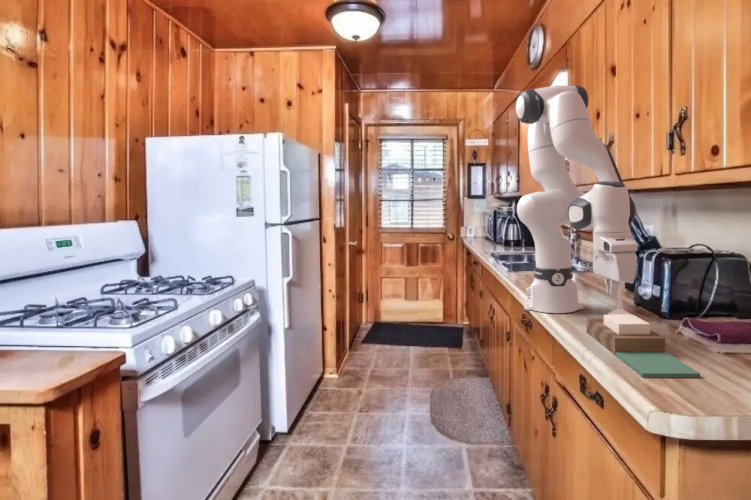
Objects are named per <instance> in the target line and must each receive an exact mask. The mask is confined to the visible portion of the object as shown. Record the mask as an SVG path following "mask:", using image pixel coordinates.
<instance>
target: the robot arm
mask: <svg viewBox="0 0 751 500" xmlns="http://www.w3.org/2000/svg"><path fill="white" fill-rule="evenodd" d="M588 107H589V94H588V91H587V90H586V89H585V87H584V86H580V85H576V84H570V85H551V86H545V87H544V86H543V87H538V88H529V89H526V90H522V91H520V93H519V95H518V96H517V98H516V101H515V113H516V118H517V119H518V120H519V121H520V122H521V123H523V124H528V128H527V154H528V161H529V170H530V175H531V177H532V178H533V179H534V180H535V181H537V182H538V183H539V184H540V185H541V187H542V188H543V190H544V191H535V192H531V193H528V194H525V195H523V196H521V197H520V199H519V200H518V202H517V205H516V214H517V217H518V219H519V221H520V222H521V223H522V224H524V225H525V226H526V228H527V229H528V230H529V231H530V234H531V236H532V239H533V242H534V249H535V250H534V252H535V266H534V270H533V273H534V274H533V277H534V279H533V280H532V283H531V284H530V286H528V287H526V288H525V295H528V296H527V297H526V298H524V301H523V302H524V303H523V304H524V305H523V309H524V310H527V311H534V312H540V313H549V314H568V313H573V312H576V311H580V310H584V306H583V304H580V303H579V291H578V284H577V282H576V281H574V280H573V278H574V268H573V266H572V244H571V242H570V241H569V239H567V238H566V237H564V236H563V234H562V232H561V229H560V225H571V226H572V227H573V228H574V229H575V230H579V231H592V244H593V245H592V249H593V254H592V271H593V274H594V275H595V276H596V275H597V276H600V277H603V278H604V284H605V286H606V293H607V295H609V296H612V297H618V288H619V285H620V283H622V284H624V283H626V284H627V283H633V282H634V281H635V279H636V273H637V271H636V270H637V269H636V267H637V257H636V254H635V252H637V251H638V243H637V242H636V241H635V240H634V239H633V238H632V236H631V228H630V225H631V224H632V223H633V222H634V220H635V219H636V217H637V216H636V215H637V207H636V204H635V202H634V200H633V199H632V197H631V195H630V194H629V190H628V187H627V185H626V184H625V183H624V181H623V179H622V175H621V174H620V171H619V169H618V166H617V164H616V162H615V159H614V157H613V155H612V153H611V151H610V148H608V146H607V145H606V144H605V143H604V142H602V141H601V140H600V139H599V137H598V136H597V134H596V132H595V130H594V128H593V126H592V121H591V118H590V113H589V111H588ZM566 159H567V160H571V161H574V162H577V163H579V164H582V165H584V166H586V167H588V168H589V169H590V170H592V171H593V172H594V174H595V175H596V178H597V180H598V182H596V183H594V185H593V187H592V188H591V189H590V190H589V191H587V192H586V193H585V194H583V193H582V192H581V191H580V190H579V189H578V188H577V186H576V185H575V184H574V182H573V180H572V178H571V176H570V173H569V170H568V167H567V162H566Z"/></svg>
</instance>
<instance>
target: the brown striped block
mask: <svg viewBox="0 0 751 500" xmlns="http://www.w3.org/2000/svg"><path fill="white" fill-rule="evenodd" d="M586 333H587V334H588V335H589V336H591V337H592V338H593V339H595V341H597V342H598V343H600V345H602V346H603V347H605V349H607V350H608V351H610V353H611V354H613V355H614V356H616V352H666V337H665V336H663V335H661V334H659V333H657V332H656V331H654V330H653V329H651V328H650V334H630V335H619V334H617V333H616V332H614V331H613V330H611V329H610V328H609V327H607V326H606V325H604V317H586Z"/></svg>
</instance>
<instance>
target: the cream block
mask: <svg viewBox="0 0 751 500" xmlns="http://www.w3.org/2000/svg"><path fill="white" fill-rule="evenodd" d="M603 318H604V325H606V326H607V327H609V328H610V329H611V330H613V331H614V332H616V333H617V334H619V335H630V334H650V329H651V323H650V322H647V320H646V321H645V320H644V319H642V318H640V317H638V316H636V315H634V314H632V313H630V314H612V315H609V314H603Z"/></svg>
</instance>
